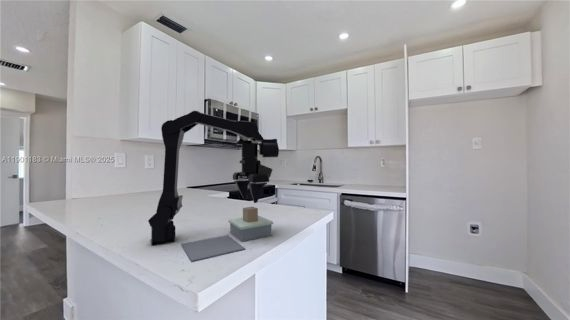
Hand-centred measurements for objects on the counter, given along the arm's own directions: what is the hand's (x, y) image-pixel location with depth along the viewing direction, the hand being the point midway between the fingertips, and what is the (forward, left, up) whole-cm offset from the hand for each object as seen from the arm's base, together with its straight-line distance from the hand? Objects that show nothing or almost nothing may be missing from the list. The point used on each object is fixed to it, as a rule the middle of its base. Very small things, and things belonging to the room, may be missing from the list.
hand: (249, 201), depth 82 cm
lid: (0, 0, -8) cm, 8 cm away
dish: (0, 0, -12) cm, 12 cm away
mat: (-15, -5, -12) cm, 20 cm away
